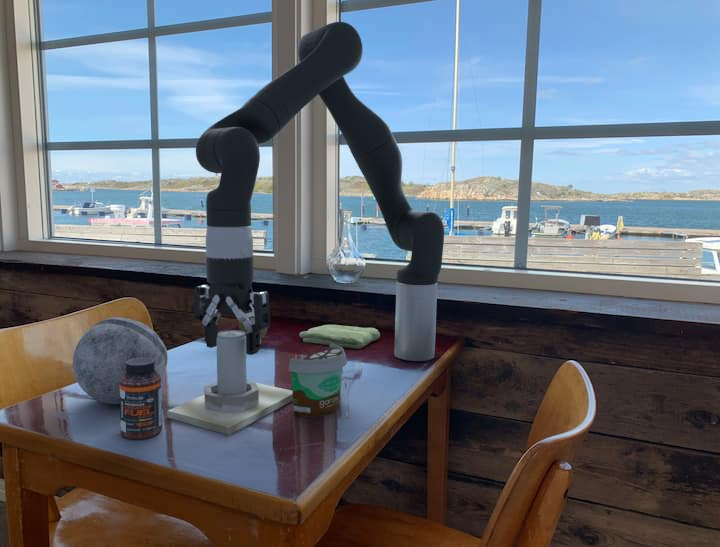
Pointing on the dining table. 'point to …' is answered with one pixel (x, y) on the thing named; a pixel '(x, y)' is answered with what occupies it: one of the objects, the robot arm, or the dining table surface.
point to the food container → (317, 382)
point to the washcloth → (341, 336)
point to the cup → (242, 328)
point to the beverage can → (231, 363)
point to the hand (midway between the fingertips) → (232, 350)
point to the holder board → (233, 418)
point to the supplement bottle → (140, 399)
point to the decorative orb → (114, 355)
